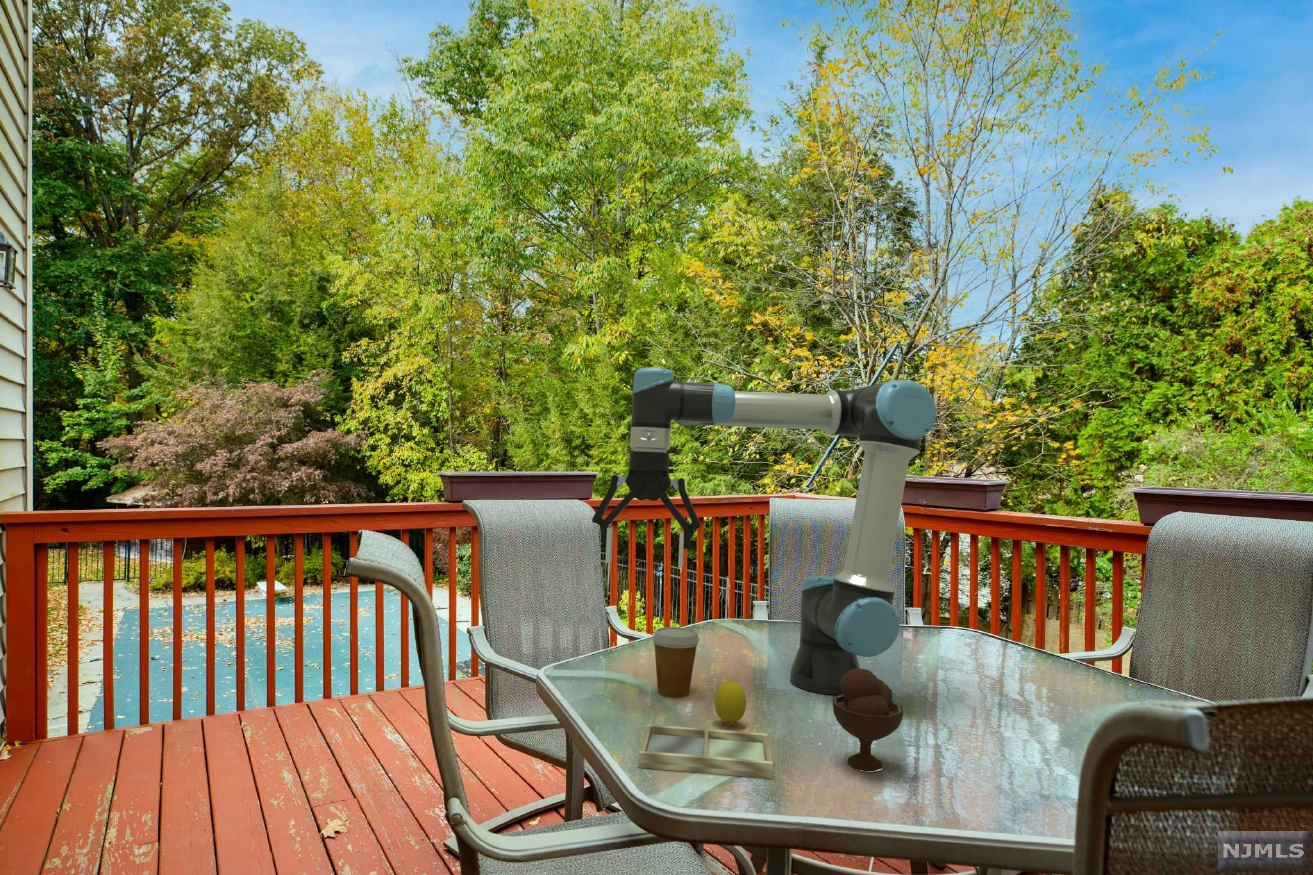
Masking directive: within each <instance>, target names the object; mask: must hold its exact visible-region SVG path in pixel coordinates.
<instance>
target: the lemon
mask: <svg viewBox="0 0 1313 875" xmlns="http://www.w3.org/2000/svg"><path fill="white" fill-rule="evenodd" d="M746 708H747V696H746V691H745V689H744V687H743V686H742V685H741V684H740V683H738V682H736V681H735V679H731V678H730V679H728V680H726V681H725V682H723V683H721V684H720V685H719V687H718V688H717V691H716V693H715V696H714V709H715V711H716V714H717V716H718V717H719V719H721V720H722V721H724V722H725V723H726V724H727V725H728V726H731V725H733V724H734V723H735V722H738V721H739V720H741V719H742V718H743V716H744V714H745V712H746Z"/></svg>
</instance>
